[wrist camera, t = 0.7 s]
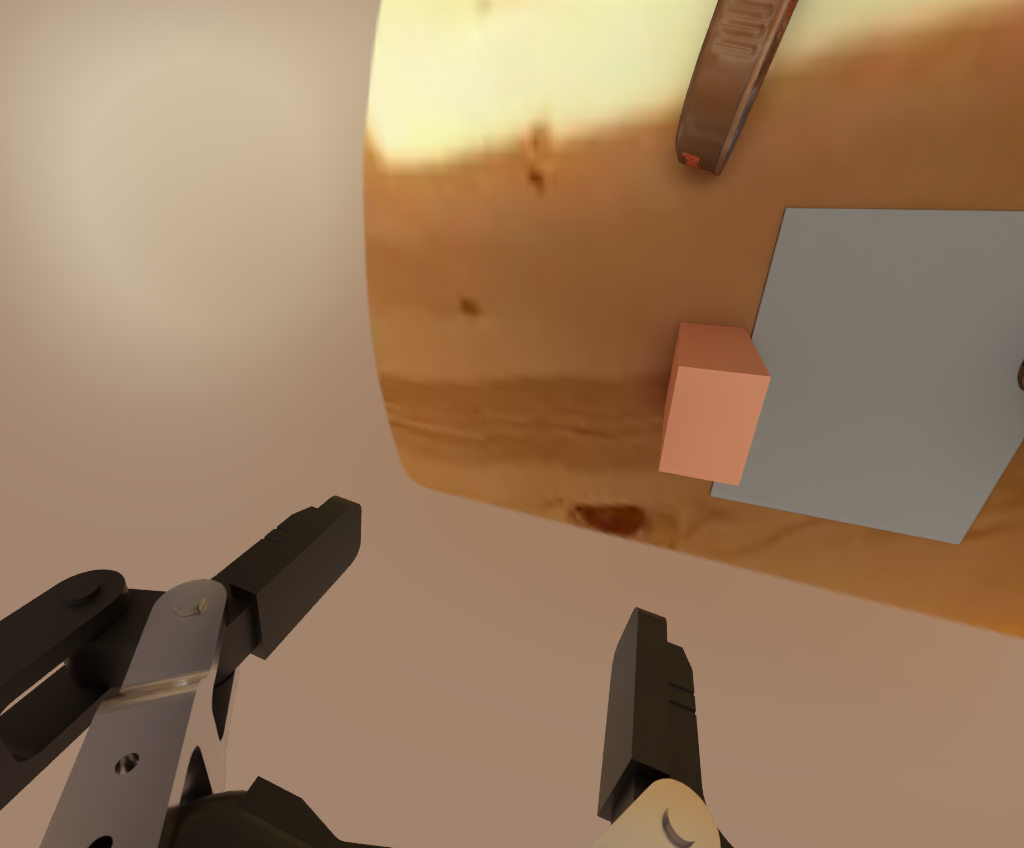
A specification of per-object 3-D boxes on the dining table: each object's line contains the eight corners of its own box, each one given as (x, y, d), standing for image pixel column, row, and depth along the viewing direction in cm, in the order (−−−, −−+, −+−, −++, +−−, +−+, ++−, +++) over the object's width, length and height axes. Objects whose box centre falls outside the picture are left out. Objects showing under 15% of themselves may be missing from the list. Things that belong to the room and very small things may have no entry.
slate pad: (1155, 212, 20) (1161, 212, 20) (956, 541, 29) (959, 544, 29) (785, 208, 25) (786, 208, 25) (709, 494, 34) (710, 496, 34)
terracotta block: (745, 327, 28) (771, 376, 20) (723, 411, 31) (738, 486, 23) (680, 322, 30) (678, 366, 21) (665, 403, 32) (658, 471, 24)
